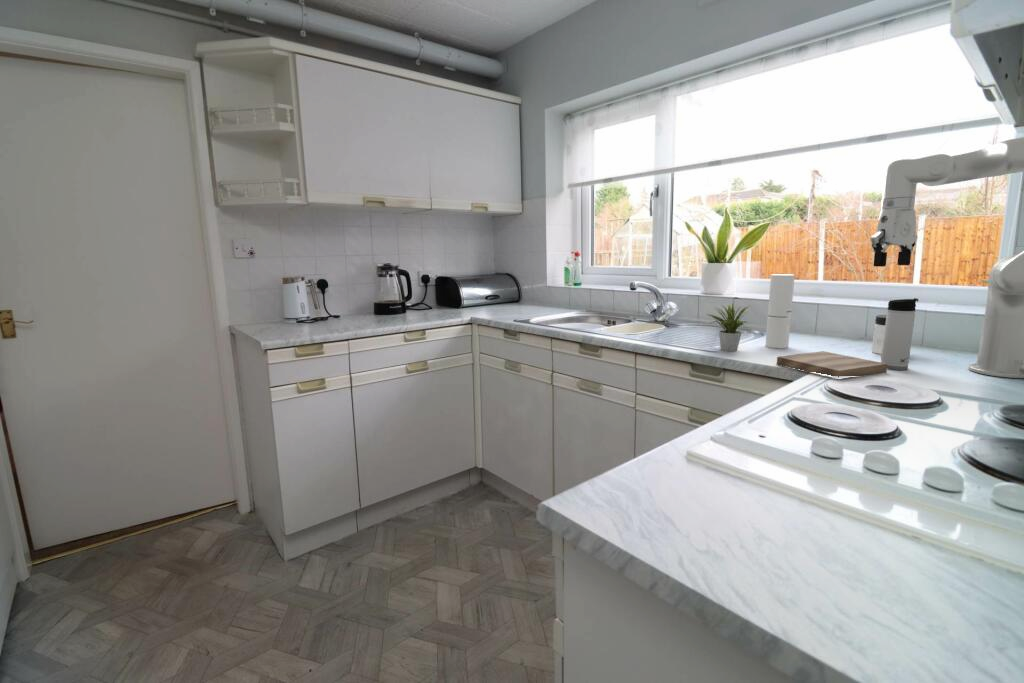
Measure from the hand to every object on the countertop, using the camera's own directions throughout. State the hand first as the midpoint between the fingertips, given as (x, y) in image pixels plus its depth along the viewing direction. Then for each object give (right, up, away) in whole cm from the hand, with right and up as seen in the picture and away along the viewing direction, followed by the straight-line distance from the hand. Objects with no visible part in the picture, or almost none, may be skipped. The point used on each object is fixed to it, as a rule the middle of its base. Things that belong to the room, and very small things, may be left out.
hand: (891, 265), depth 146 cm
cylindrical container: (-18, -24, +30) cm, 42 cm away
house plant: (-35, -25, +26) cm, 51 cm away
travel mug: (-1, -30, -3) cm, 30 cm away
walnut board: (-20, -30, -2) cm, 36 cm away
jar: (+11, -26, +17) cm, 33 cm away
